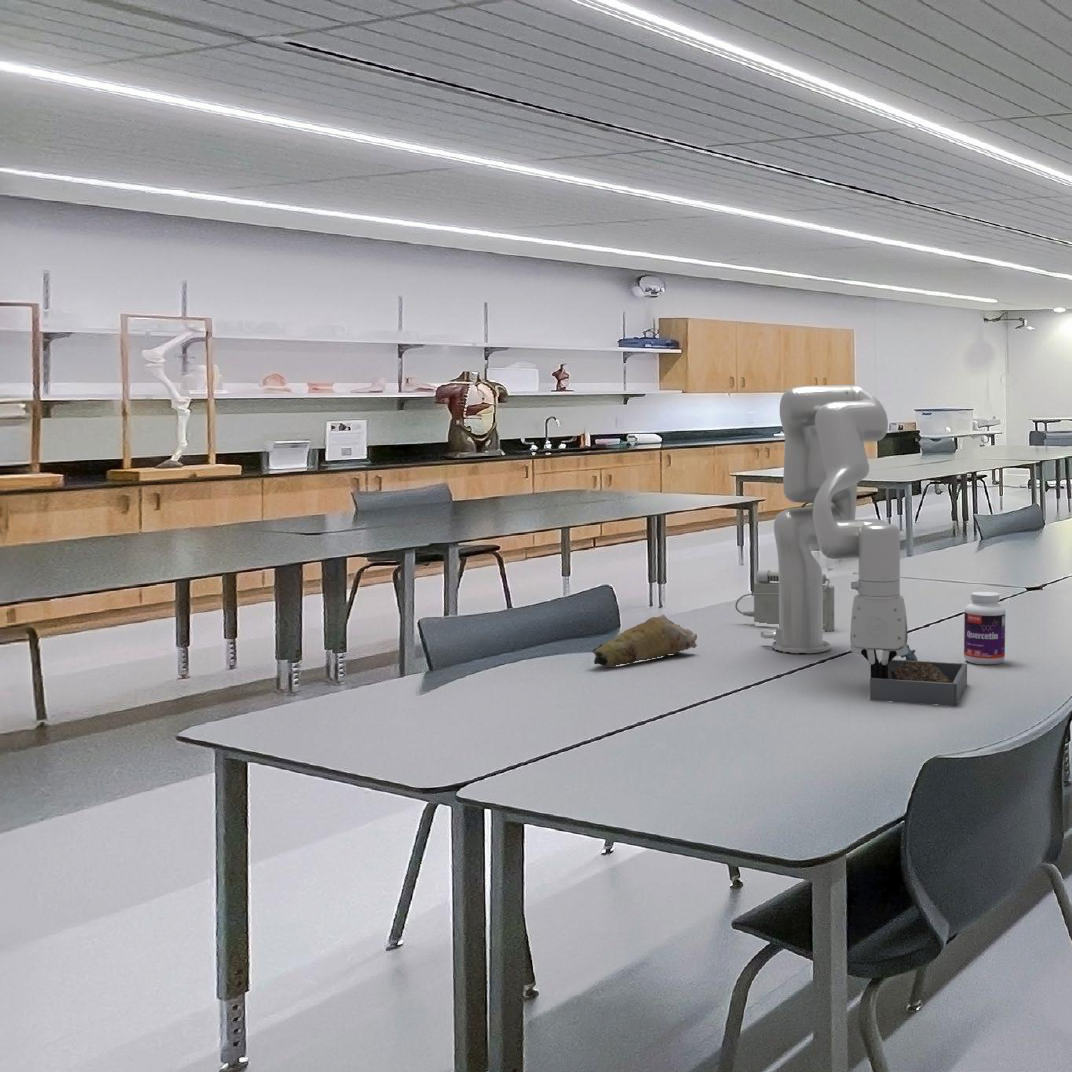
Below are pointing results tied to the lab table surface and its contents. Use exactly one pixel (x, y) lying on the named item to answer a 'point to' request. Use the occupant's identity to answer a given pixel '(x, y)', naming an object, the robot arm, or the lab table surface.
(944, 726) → the lab table surface
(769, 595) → the geiger counter
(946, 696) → the tray
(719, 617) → the lab table surface
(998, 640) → the pill bottle
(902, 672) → the concrete sample
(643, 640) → the mineral
